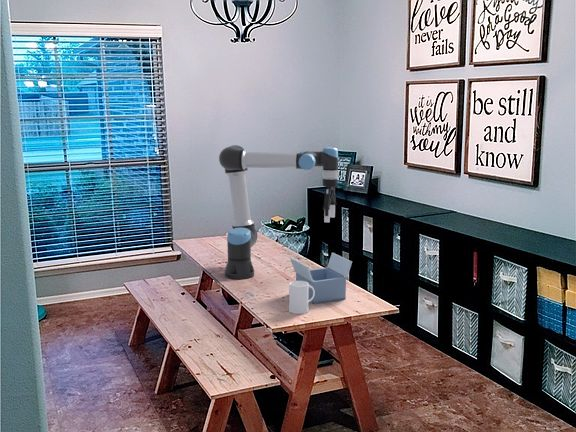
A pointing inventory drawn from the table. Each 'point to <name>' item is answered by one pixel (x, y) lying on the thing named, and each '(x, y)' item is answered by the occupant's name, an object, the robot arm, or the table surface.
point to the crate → (325, 285)
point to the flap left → (301, 269)
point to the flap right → (339, 264)
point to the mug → (299, 297)
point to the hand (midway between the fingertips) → (329, 219)
